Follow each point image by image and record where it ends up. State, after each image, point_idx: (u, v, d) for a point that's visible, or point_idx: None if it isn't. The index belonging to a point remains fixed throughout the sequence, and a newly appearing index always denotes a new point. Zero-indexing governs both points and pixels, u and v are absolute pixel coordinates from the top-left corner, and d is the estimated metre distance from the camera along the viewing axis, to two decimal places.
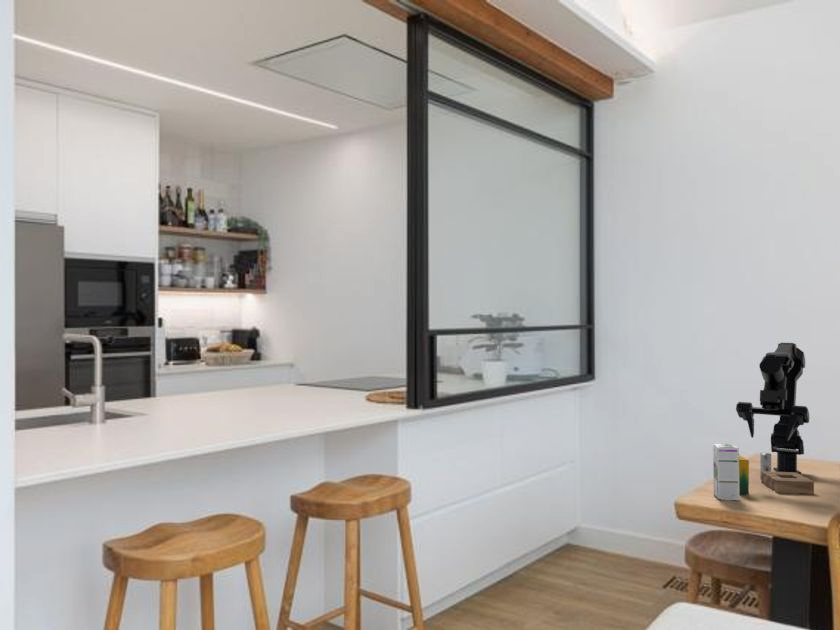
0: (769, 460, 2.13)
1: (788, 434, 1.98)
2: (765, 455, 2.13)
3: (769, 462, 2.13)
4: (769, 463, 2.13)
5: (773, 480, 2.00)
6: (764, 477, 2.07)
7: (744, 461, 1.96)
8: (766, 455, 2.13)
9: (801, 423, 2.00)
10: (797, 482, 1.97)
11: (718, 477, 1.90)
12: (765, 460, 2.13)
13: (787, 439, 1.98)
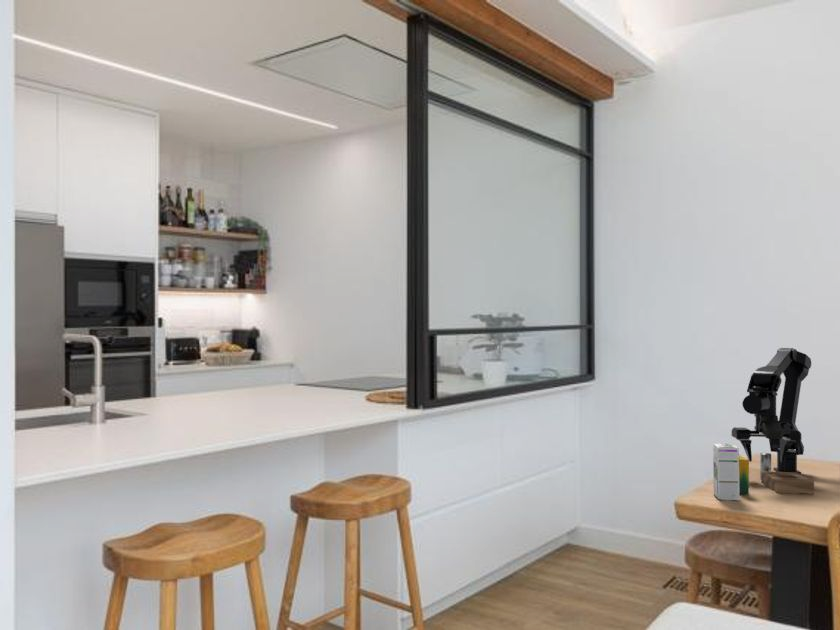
0: (769, 460, 2.13)
1: (783, 457, 2.13)
2: (765, 455, 2.13)
3: (769, 462, 2.13)
4: (769, 463, 2.13)
5: (773, 480, 2.00)
6: (764, 477, 2.07)
7: (744, 461, 1.96)
8: (766, 455, 2.13)
9: None
10: (797, 482, 1.97)
11: (718, 477, 1.90)
12: (765, 460, 2.13)
13: (782, 462, 2.13)
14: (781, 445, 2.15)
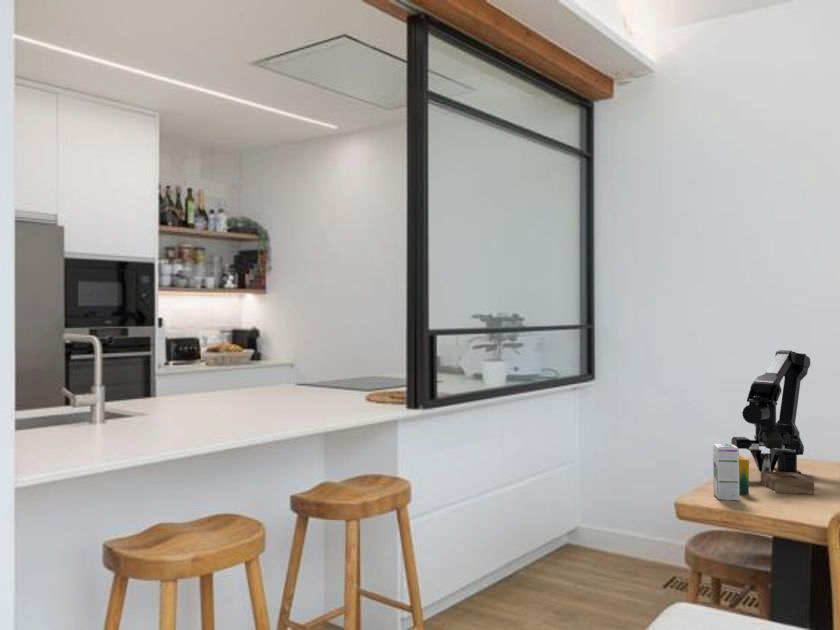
0: (769, 460, 2.13)
1: (773, 467, 2.13)
2: (765, 455, 2.13)
3: (769, 462, 2.13)
4: (769, 463, 2.13)
5: (773, 480, 2.00)
6: (764, 477, 2.07)
7: (744, 461, 1.96)
8: (766, 455, 2.13)
9: None
10: (797, 482, 1.97)
11: (718, 477, 1.90)
12: (765, 460, 2.13)
13: (772, 471, 2.14)
14: None
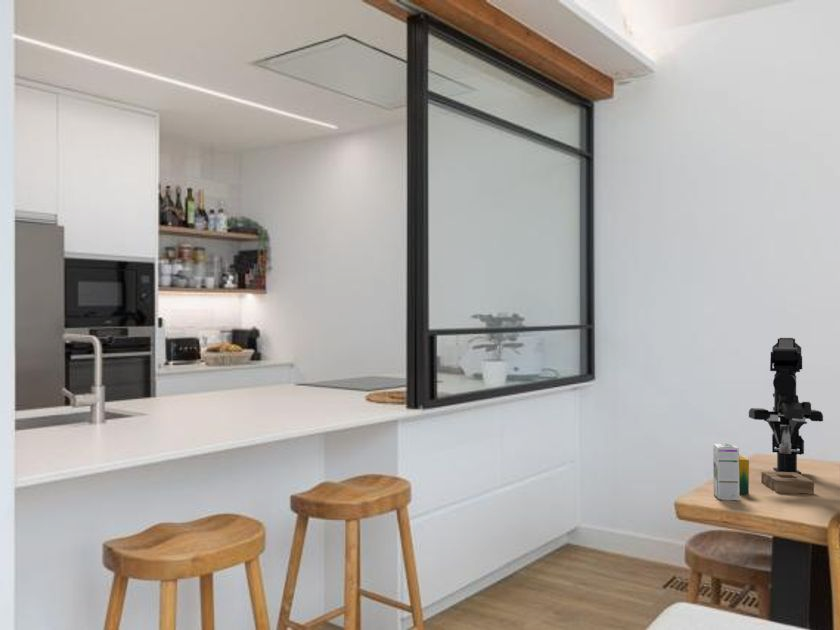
0: (789, 432, 2.02)
1: (793, 439, 2.02)
2: (785, 427, 2.02)
3: (789, 434, 2.02)
4: (789, 435, 2.02)
5: (773, 480, 2.00)
6: (764, 477, 2.07)
7: (744, 461, 1.96)
8: (786, 427, 2.02)
9: None
10: (797, 482, 1.97)
11: (718, 477, 1.90)
12: (785, 432, 2.02)
13: (792, 444, 2.03)
14: None
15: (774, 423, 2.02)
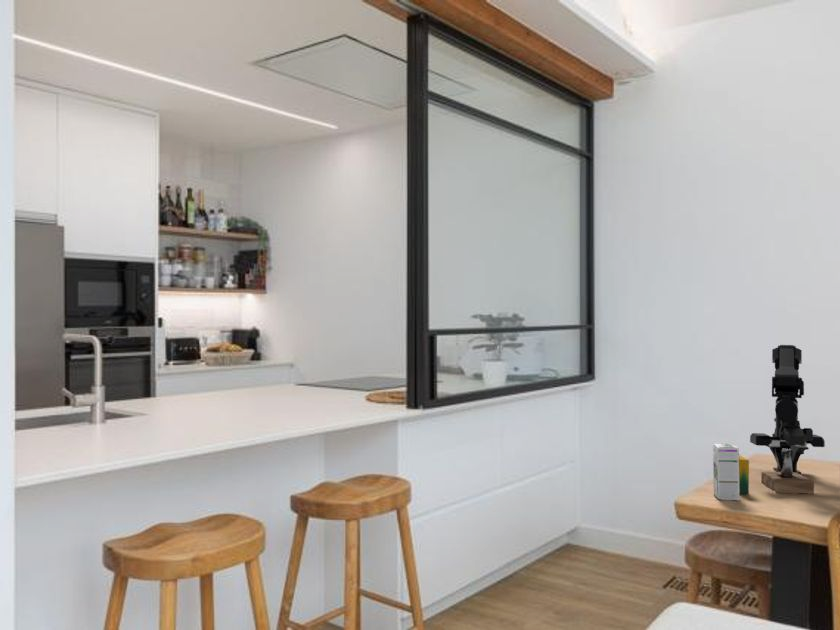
0: (790, 457, 2.02)
1: (795, 465, 2.02)
2: (786, 452, 2.02)
3: (791, 460, 2.02)
4: (790, 461, 2.02)
5: (773, 480, 2.00)
6: (764, 477, 2.07)
7: (744, 461, 1.96)
8: (787, 452, 2.02)
9: None
10: (797, 482, 1.97)
11: (718, 477, 1.90)
12: (787, 458, 2.02)
13: (793, 469, 2.02)
14: None
15: (776, 449, 2.01)
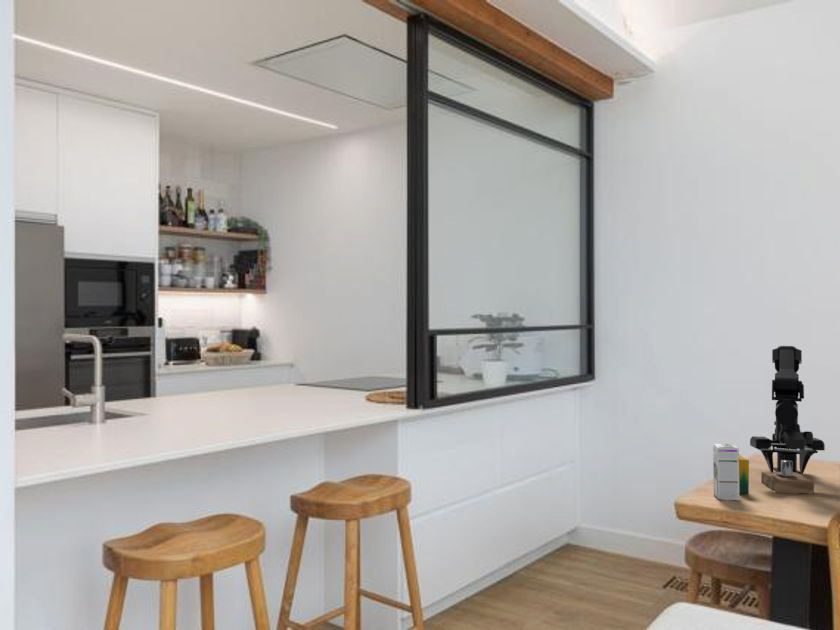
0: (790, 468, 2.02)
1: (803, 468, 2.02)
2: (786, 462, 2.02)
3: (791, 470, 2.02)
4: (790, 471, 2.02)
5: (773, 480, 2.00)
6: (764, 477, 2.07)
7: (744, 461, 1.96)
8: (787, 462, 2.02)
9: None
10: (797, 482, 1.97)
11: (718, 477, 1.90)
12: (787, 468, 2.02)
13: (802, 473, 2.02)
14: (800, 455, 2.04)
15: (767, 452, 2.02)
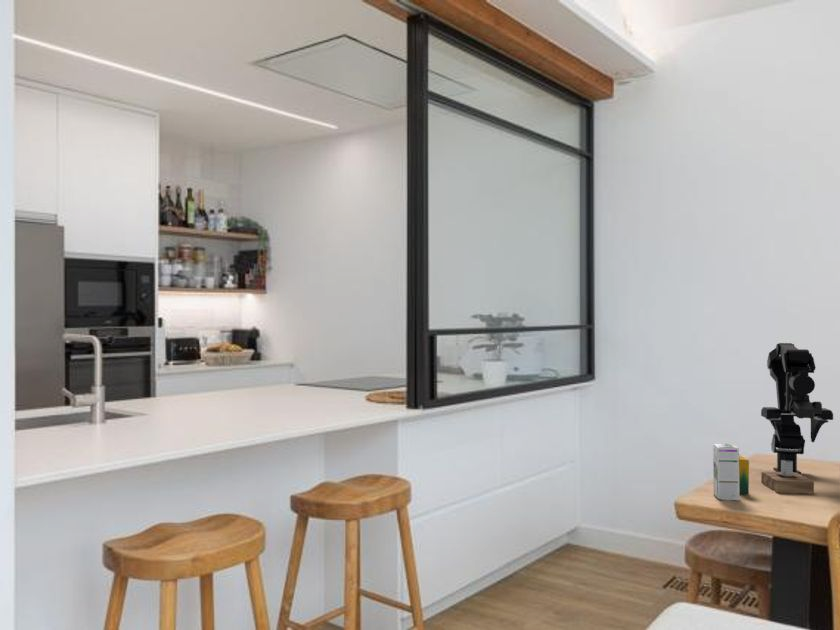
0: (790, 468, 2.02)
1: (814, 437, 2.10)
2: (786, 462, 2.02)
3: (791, 470, 2.02)
4: (790, 471, 2.02)
5: (773, 480, 2.00)
6: (764, 477, 2.07)
7: (744, 461, 1.96)
8: (787, 462, 2.02)
9: None
10: (797, 482, 1.97)
11: (718, 477, 1.90)
12: (787, 468, 2.02)
13: None
14: (811, 425, 2.12)
15: (775, 422, 2.10)
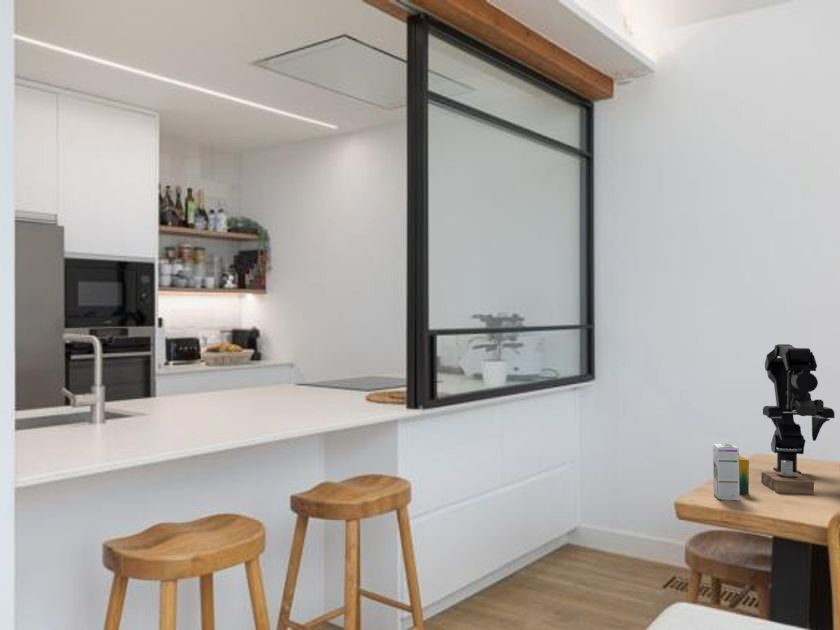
0: (790, 468, 2.02)
1: (816, 436, 2.11)
2: (786, 462, 2.02)
3: (791, 470, 2.02)
4: (790, 471, 2.02)
5: (773, 480, 2.00)
6: (764, 477, 2.07)
7: (744, 461, 1.96)
8: (787, 462, 2.02)
9: None
10: (797, 482, 1.97)
11: (718, 477, 1.90)
12: (787, 468, 2.02)
13: (815, 440, 2.11)
14: (813, 423, 2.13)
15: (777, 420, 2.11)
